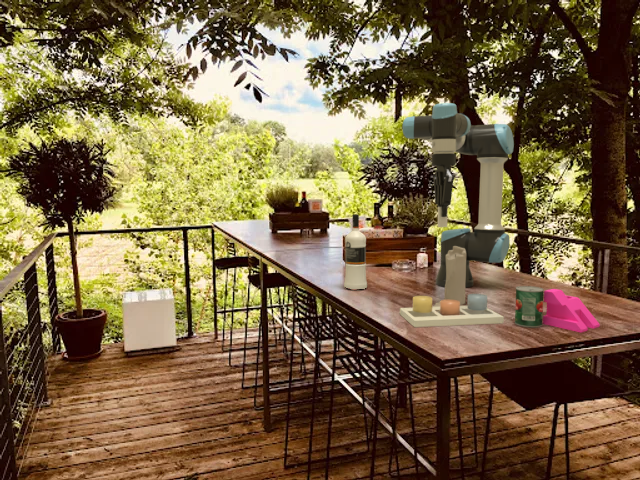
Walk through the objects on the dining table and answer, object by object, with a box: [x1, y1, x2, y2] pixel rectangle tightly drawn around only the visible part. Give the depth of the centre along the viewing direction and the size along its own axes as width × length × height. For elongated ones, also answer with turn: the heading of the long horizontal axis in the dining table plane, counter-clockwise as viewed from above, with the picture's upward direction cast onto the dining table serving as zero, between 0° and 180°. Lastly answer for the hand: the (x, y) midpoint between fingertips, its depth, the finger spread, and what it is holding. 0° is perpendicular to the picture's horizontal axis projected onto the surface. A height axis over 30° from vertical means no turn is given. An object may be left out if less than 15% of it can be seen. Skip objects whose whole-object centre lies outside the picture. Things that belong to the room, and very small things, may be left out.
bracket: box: [542, 288, 601, 333], centre depth 163 cm, size 12×10×10 cm
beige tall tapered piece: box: [432, 246, 466, 307], centre depth 191 cm, size 7×14×20 cm, turn 130°
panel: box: [399, 304, 505, 328], centre depth 172 cm, size 16×28×2 cm, turn 98°
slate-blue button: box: [466, 293, 488, 310], centre depth 173 cm, size 6×6×4 cm
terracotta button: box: [439, 299, 461, 316], centre depth 172 cm, size 6×6×4 cm
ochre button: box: [412, 295, 433, 313], centre depth 170 cm, size 6×6×4 cm
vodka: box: [343, 213, 368, 290], centre depth 218 cm, size 9×9×30 cm
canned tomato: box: [514, 285, 545, 328], centre depth 164 cm, size 8×8×11 cm
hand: (442, 226), depth 177 cm, fingers closed
